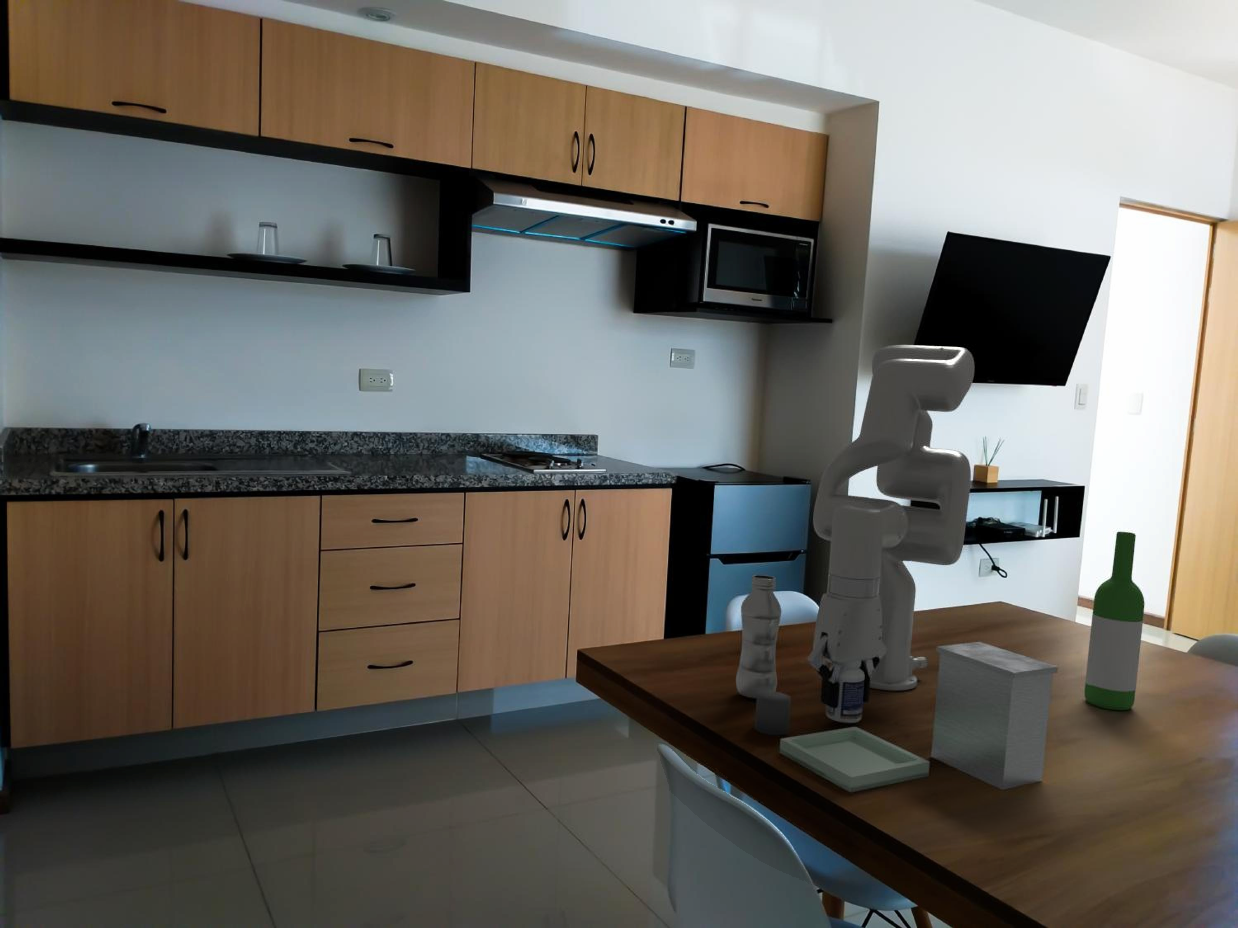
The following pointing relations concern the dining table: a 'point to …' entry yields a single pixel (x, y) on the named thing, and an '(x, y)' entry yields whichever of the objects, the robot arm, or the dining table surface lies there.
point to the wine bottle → (1116, 633)
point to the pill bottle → (849, 694)
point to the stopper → (772, 713)
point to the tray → (854, 758)
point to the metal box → (992, 713)
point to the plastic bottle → (759, 638)
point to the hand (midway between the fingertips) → (844, 700)
